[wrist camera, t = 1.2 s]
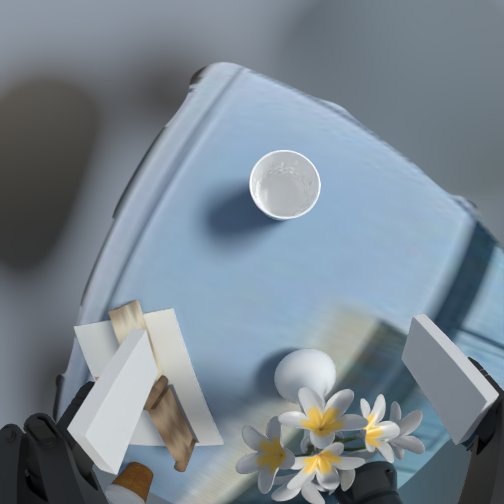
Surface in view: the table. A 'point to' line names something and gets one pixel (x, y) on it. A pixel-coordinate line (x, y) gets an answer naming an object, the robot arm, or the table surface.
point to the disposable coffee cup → (130, 485)
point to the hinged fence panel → (131, 325)
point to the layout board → (174, 368)
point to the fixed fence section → (170, 423)
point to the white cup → (284, 185)
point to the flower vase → (322, 432)
